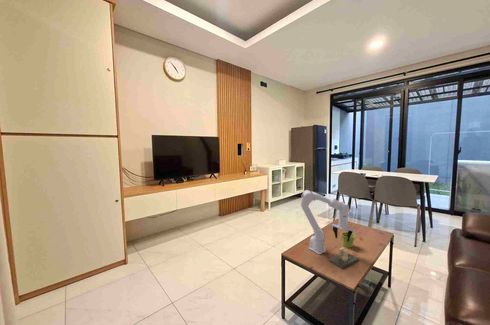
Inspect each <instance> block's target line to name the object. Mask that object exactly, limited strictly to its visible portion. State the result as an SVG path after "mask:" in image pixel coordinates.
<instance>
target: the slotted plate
mask: <svg viewBox="0 0 490 325" xmlns="http://www.w3.org/2000/svg"><path fill="white" fill-rule="evenodd" d="M338 258H339V253H338V254H336V255H334V256H332V257H329V258H328V262H329V263H331V264H333V265H335V266H337V267H338V268H339V269H342V270H344V269H345V268H347V267H349V266H351V265H353V264H355V263H357V262H359V257H356V256H354V255H352V254H351V253H348V261H346V262H344V261H342V260H340V259H338Z"/></svg>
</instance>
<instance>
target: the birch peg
mask: <svg viewBox="0 0 490 325" xmlns="http://www.w3.org/2000/svg"><path fill="white" fill-rule="evenodd" d="M338 254H339V258H338V259H340V260H342V261H344V262H346V261H348V254H349V249H347V248H346V247H344V246H342V247H340V248H338Z"/></svg>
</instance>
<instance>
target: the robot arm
mask: <svg viewBox="0 0 490 325" xmlns="http://www.w3.org/2000/svg"><path fill="white" fill-rule="evenodd" d="M300 198H301V200H300V207H301V209H302V211H303V212H304V214H305V216H306V218H307V220H308V222H309V224H310V226H311V228H312V230H313V234H314V235H312V236H311V237H310V239H309V247H308V249H309V250H311V251H312V252H314V253H316V254H318V255H321V254H323V253H326V252H327V249H325V239H326V235H325V233H324V231H323V229H322V228H321V227H320V226H319V224H318V222H317V220H316V219H315V216H314V215H313V212H312V211H311V209H310V207H309V206H310V204H311V203H312V202H313V201H321V202H322V203H325V204H327V205H328V206H329V207H330V208H332V209H335V210H337V211H338V224H335V223H331V228H332V231H333V233H334V237H335V239H338V232H339V230H341V231H345V232H346V231H347V232H348V239H347V242H349V239H350V236H351V234H355V231H356V230H355V228H352V227H349V226H348V222H349V213H350V207H349V205H347V204H346V203H344V201H339V200H337V199H336V198H328V197H327V196H326V197H325V196H324V195H321V194H319V193H317V192H315V191H311V190H309V189H305V190H304V191H303V192H302V194H301V197H300Z"/></svg>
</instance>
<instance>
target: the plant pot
mask: <svg viewBox="0 0 490 325" xmlns="http://www.w3.org/2000/svg"><path fill="white" fill-rule="evenodd" d="M340 235H341V236H342V245H343V247H344V248H346V249H347V248H353V246H354V241H355V238H356V235H355V233H352V234H351V236H350V239H349V242H347V239H348V231H347V232H346V231H343V232H341V233H340Z"/></svg>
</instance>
